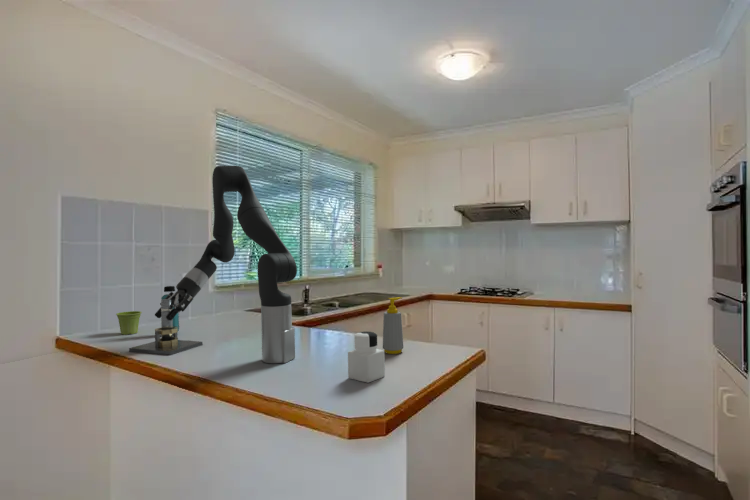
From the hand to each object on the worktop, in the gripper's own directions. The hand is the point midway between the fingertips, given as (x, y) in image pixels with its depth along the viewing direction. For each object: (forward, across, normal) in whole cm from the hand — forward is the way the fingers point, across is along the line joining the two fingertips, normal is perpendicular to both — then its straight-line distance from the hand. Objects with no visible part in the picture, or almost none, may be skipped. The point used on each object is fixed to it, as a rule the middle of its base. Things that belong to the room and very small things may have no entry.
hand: (162, 317), depth 151 cm
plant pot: (+5, -41, +11) cm, 42 cm away
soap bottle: (-23, +69, +39) cm, 82 cm away
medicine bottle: (-4, +79, +20) cm, 82 cm away
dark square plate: (+7, 0, +9) cm, 11 cm away
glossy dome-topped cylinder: (+6, 0, +8) cm, 10 cm away
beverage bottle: (-2, -22, +17) cm, 28 cm away
